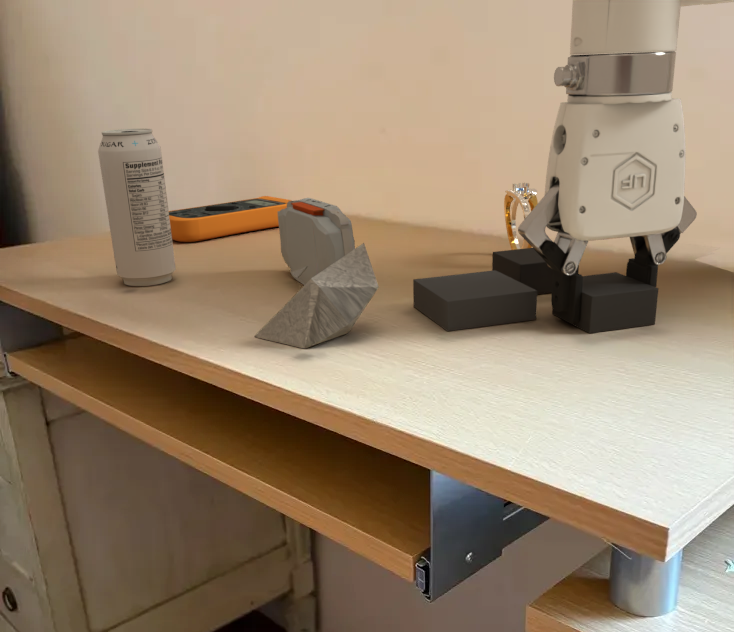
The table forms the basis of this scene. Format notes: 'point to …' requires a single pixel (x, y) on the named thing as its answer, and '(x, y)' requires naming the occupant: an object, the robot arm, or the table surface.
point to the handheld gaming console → (313, 236)
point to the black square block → (615, 303)
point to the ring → (510, 220)
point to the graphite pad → (525, 268)
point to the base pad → (474, 300)
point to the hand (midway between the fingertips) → (602, 312)
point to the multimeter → (225, 218)
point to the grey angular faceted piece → (325, 303)
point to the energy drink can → (137, 206)
